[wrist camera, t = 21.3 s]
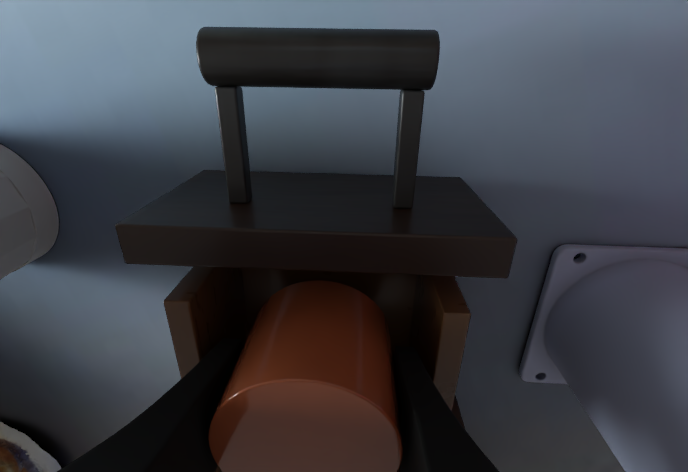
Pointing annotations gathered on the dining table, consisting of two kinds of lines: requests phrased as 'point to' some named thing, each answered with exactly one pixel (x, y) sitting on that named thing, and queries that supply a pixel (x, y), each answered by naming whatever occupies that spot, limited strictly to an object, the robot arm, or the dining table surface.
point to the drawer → (320, 206)
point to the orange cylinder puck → (312, 387)
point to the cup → (23, 214)
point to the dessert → (23, 453)
